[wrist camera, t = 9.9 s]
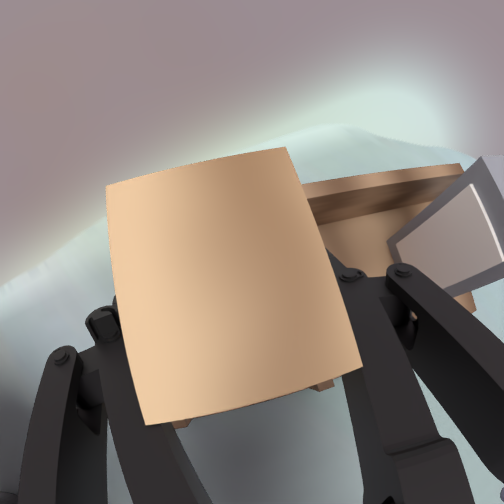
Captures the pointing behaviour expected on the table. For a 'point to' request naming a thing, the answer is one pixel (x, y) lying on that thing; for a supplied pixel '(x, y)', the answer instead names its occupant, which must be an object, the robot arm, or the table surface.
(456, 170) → the wooden tray
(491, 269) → the grey block
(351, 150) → the table surface
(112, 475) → the table surface
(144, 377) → the tan block
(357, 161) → the table surface
